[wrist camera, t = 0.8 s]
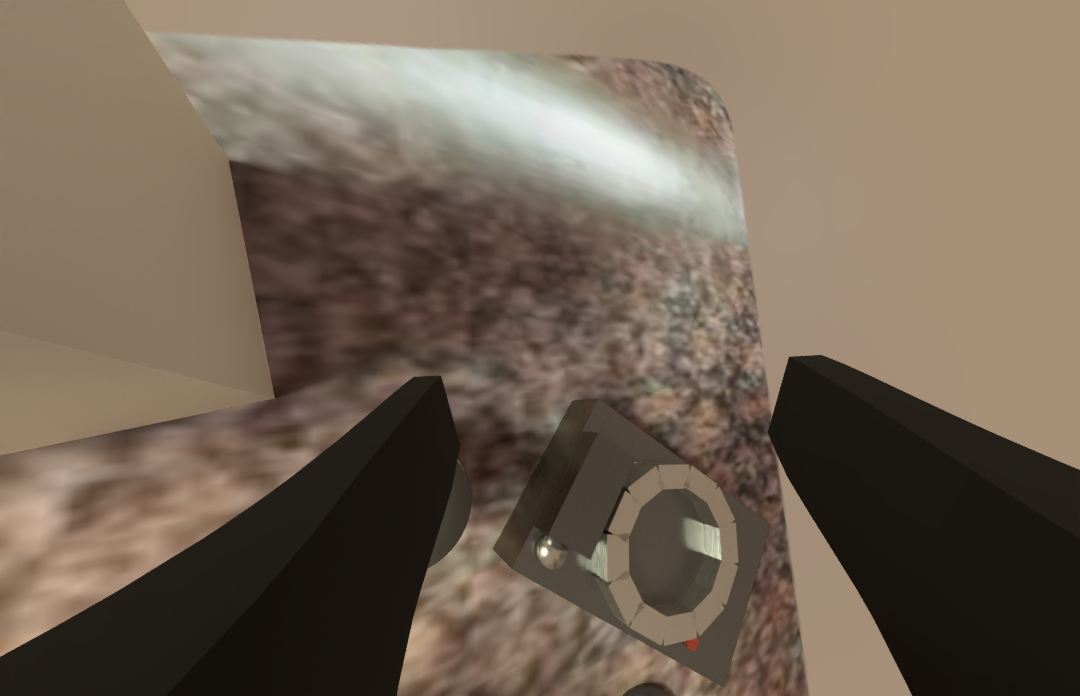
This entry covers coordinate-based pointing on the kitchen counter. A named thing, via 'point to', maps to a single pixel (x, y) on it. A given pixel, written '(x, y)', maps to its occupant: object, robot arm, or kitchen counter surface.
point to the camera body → (637, 539)
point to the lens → (453, 516)
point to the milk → (112, 236)
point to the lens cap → (645, 691)
